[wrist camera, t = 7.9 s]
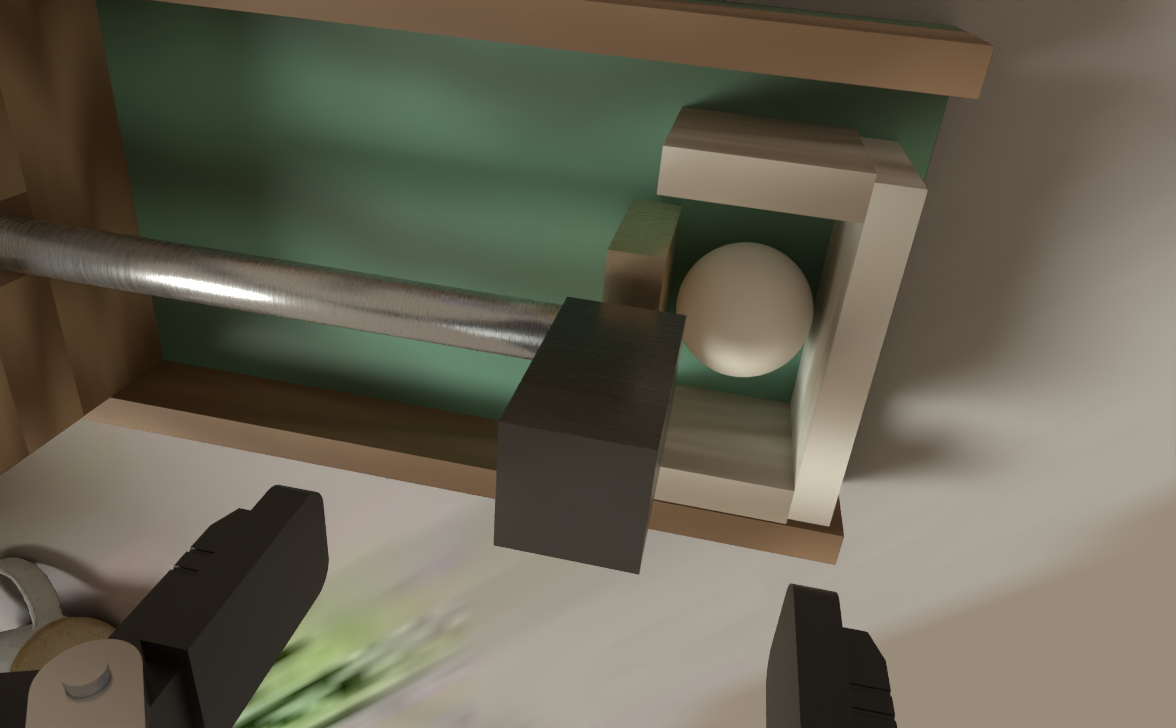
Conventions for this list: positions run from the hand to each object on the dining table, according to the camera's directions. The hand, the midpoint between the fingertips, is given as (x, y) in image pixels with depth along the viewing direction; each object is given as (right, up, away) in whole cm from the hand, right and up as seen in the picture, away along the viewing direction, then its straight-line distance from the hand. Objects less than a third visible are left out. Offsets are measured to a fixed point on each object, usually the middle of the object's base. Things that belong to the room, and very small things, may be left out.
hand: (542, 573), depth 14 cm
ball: (+5, +5, +10) cm, 13 cm away
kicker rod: (-7, +8, +13) cm, 17 cm away
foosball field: (-3, +8, +15) cm, 17 cm away
